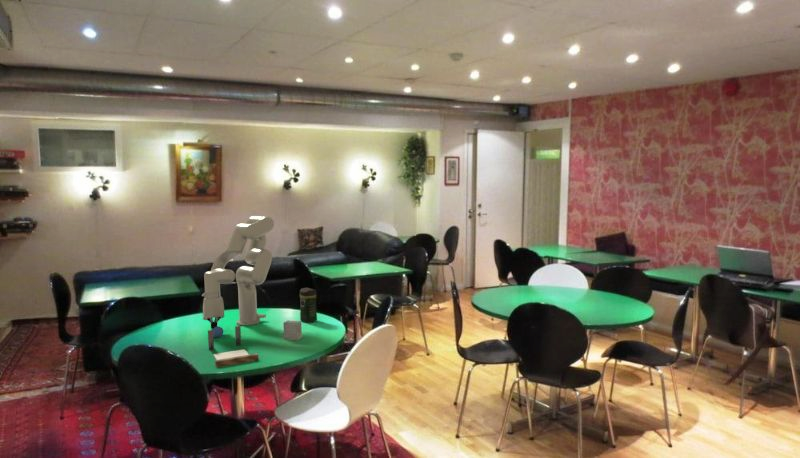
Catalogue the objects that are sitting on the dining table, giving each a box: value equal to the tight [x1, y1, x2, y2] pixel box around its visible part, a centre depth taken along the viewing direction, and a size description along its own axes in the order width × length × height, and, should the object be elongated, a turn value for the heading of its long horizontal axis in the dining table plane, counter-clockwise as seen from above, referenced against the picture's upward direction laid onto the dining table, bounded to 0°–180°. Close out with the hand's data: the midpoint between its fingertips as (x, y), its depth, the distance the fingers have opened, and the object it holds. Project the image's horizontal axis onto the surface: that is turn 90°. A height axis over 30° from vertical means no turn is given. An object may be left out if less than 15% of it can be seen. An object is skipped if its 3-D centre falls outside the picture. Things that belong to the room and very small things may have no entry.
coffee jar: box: [299, 287, 318, 324], centre depth 304 cm, size 10×8×19 cm
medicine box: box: [282, 319, 303, 341], centre depth 272 cm, size 8×4×9 cm, turn 71°
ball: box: [213, 325, 224, 338], centre depth 276 cm, size 6×6×6 cm
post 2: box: [234, 325, 242, 347], centre depth 263 cm, size 2×2×9 cm
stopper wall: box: [214, 352, 260, 368], centre depth 238 cm, size 18×2×2 cm, turn 119°
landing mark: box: [213, 348, 250, 360], centre depth 246 cm, size 14×14×1 cm
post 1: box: [207, 329, 215, 351], centre depth 257 cm, size 2×2×9 cm
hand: (214, 329), depth 284 cm, fingers closed
